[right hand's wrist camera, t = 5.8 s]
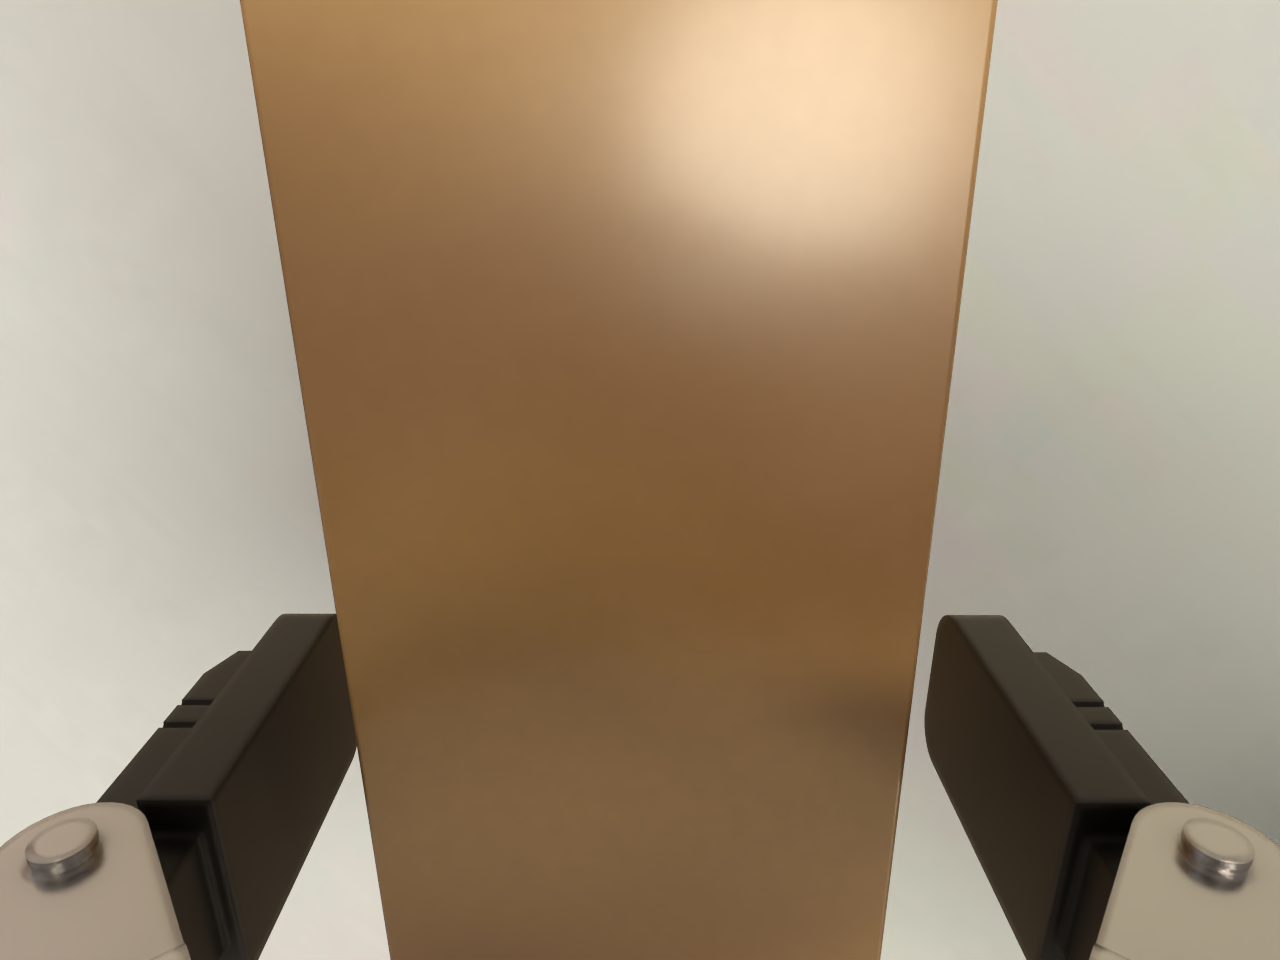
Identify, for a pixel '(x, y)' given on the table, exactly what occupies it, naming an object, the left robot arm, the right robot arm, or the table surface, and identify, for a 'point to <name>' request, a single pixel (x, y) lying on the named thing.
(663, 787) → the box
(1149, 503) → the table surface
